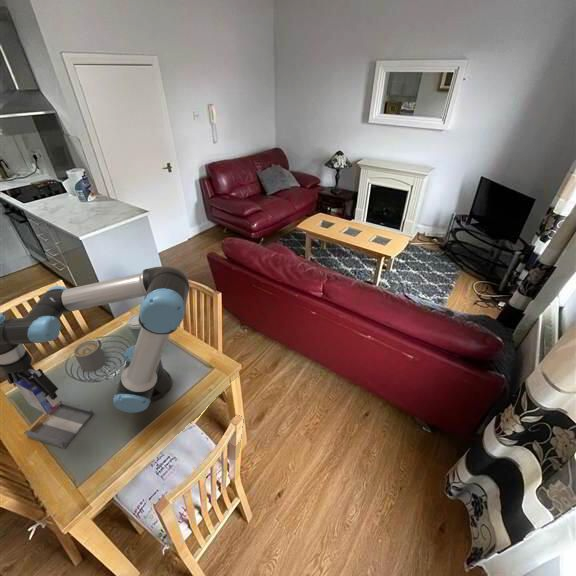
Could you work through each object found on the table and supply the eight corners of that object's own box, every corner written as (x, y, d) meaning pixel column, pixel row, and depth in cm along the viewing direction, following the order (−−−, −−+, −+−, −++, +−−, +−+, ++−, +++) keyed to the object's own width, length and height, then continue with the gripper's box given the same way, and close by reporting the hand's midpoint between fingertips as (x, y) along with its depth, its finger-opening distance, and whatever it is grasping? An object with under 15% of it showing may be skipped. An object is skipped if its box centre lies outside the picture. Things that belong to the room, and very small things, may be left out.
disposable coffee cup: (129, 346, 148) (120, 323, 140) (142, 331, 157) (135, 308, 148) (149, 350, 147) (141, 327, 138) (161, 335, 155) (154, 312, 147)
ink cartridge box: (63, 402, 108) (46, 375, 99) (48, 415, 103) (28, 389, 95) (45, 392, 111) (26, 366, 102) (29, 404, 106) (8, 378, 98)
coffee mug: (96, 373, 135) (88, 358, 129) (76, 369, 136) (67, 354, 130) (115, 351, 145) (108, 336, 140) (96, 348, 147) (89, 333, 141)
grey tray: (94, 413, 119) (91, 409, 117) (64, 448, 108) (60, 444, 106) (60, 404, 122) (57, 399, 120) (27, 437, 111) (24, 432, 109)
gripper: (53, 354, 94) (79, 398, 106) (-6, 340, 98) (27, 383, 111) (30, 373, 88) (61, 417, 100) (-31, 357, 92) (6, 401, 105)
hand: (43, 399), depth 106 cm, fingers closed on ink cartridge box, 10 cm apart
